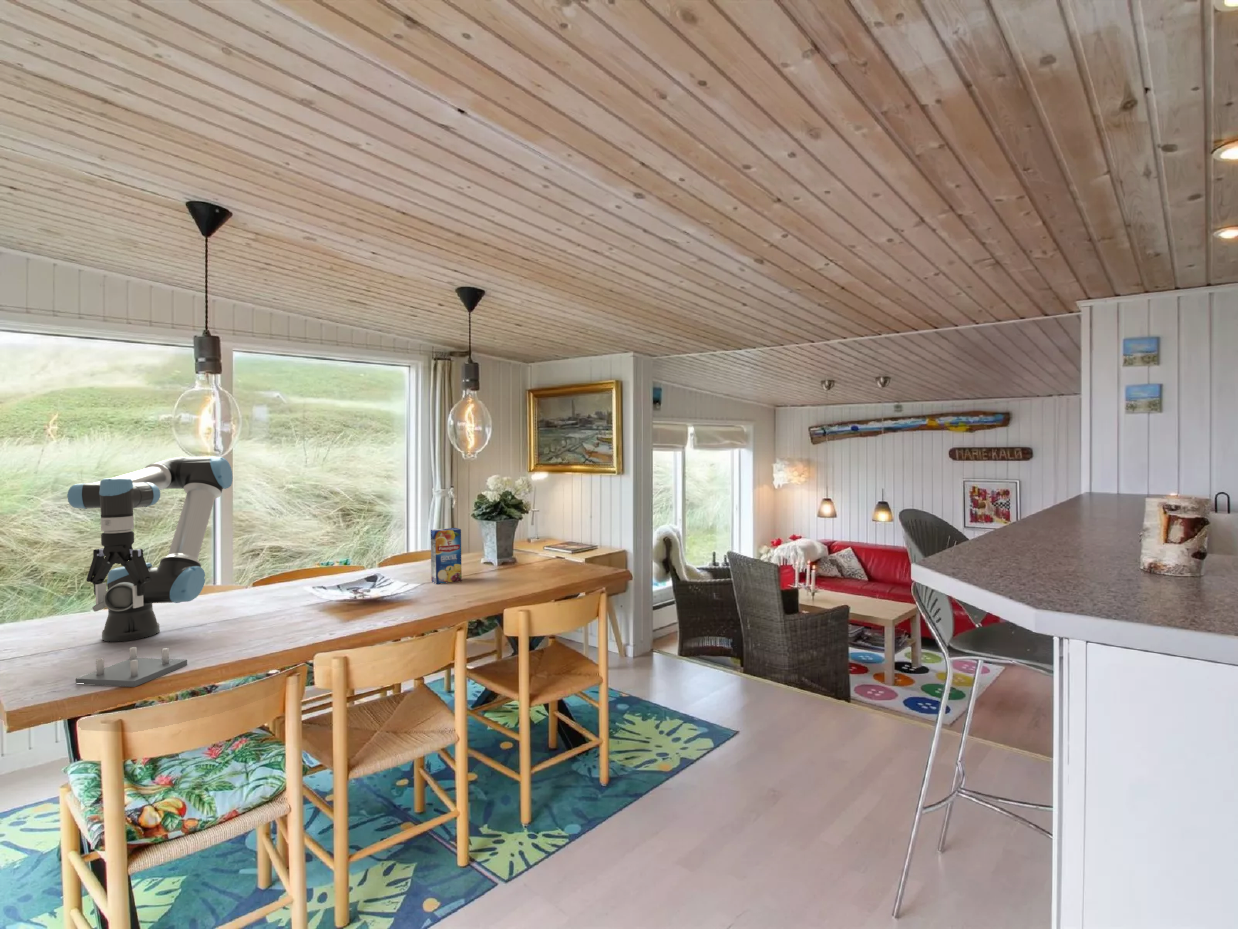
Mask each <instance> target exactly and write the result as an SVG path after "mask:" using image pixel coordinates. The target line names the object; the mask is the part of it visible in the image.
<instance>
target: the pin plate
mask: <svg viewBox="0 0 1238 929" xmlns="http://www.w3.org/2000/svg"><path fill="white" fill-rule="evenodd" d="M137 650H138V648H137V646H133V647H129V658H128V659H126V660H122V661H120V662H117V663H114V664H112V665H109V666H106V667H105V659H104V658H103V657H102V658H97V659H96V660H95V664H96V666H95V667H96V668H95V671H93V672H90V673H87V674H85V675H82V676H80V677H77V678H75V684H76V683H84V684H95V685H94V686H104V685H111V686H110V687H130V688H133V687H134V688H135V687H138V686H141V685H142V684H145V683H148V682H150V681H153V680H155V679H158V678H159V677H162V676H164V675H166V674H169V673H171V672H173V671H176V670H178V669H182V668H183V667H185V666H187V665H188V659H178V658H170V648H169V647H164V648H161V658H154V657H151V658H148V657H138V654H137V652H138V651H137Z"/></svg>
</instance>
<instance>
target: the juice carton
mask: <svg viewBox="0 0 1238 929" xmlns="http://www.w3.org/2000/svg"><path fill="white" fill-rule="evenodd" d="M430 569H431V570H430V573H431V574H430V575H431V576H430V577H431V578H430V580H431V581H432V582H431V583H433V582H434V583H433V584H435V583H436V584H435V585H440V584H439V583H444V584H447V583H446V582H452V583H459V582H458V581H460V582H462V580H463V579H462V574H463V573H462V570H463V569H462V529H461V528H457V527H452V528H451V527H449V528H437V529H430Z"/></svg>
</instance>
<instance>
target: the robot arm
mask: <svg viewBox="0 0 1238 929" xmlns="http://www.w3.org/2000/svg"><path fill="white" fill-rule="evenodd" d="M233 477H234V476H233V469H232V467H231V464H230V462H229V461H228V460H227V459H226V458H224V457H222V456H214V455H211V456H177V457H172V458H168V459H165V460H161V461H158V462H154V463H150V464H148V465H146V466H145V467H144V468H143V469H140V470H139V469H138V470H135V471H132V472H129V473H125V474H121V475H117V476H115V477H107V478H106V477H105V478H102V479H101V480H100V481H96V482H90V483H86V482H83V483H75V484H73V485H71V486H70V487H69V489H68V490H67V494H66V496H67V503H68V504H69V506H71V507H72V508H74V509H84V510H87V509H100V531H102V533H101V534H100V543H101V544H100V545H101V546H102V548H96V549H93V550H92V556H93V557H92V561H91V564H90V567H89V570H88V574H87V576H86V582H87V583H92V585H93V594H94V596H95V605H97V604H99V603H101V602H103V598H104V595H105V593H106V591H107V590H108V589H109V588H111V587H112V586H114V585H116V584H118V583H122V582H129V583H132V584H134V585H133V586H132V588H133V606H132V607H130V608H129V609H127V610H124V611H112V610H110V609H108V608H107V610H108V611H107V618H106V620H105V624H104V629H102V631H101V640H102V641H103V640H104V642H109V641H110V642H111V643H112V642H113V643H115V642H117V643H118V642H127V641H133V640H135V641H136V640H139V639H140V640H141V639H144V637H145V638H148V636H149V637H151V636H155V635H157V634H159V633H160V624H159V622H158V621H157V618H156V614H155V612H154V609H153V607H154V606H153V604H167V603H168V604H169V603H170V604H171V603H172V604H173V603H175V604H180V603H181V604H182V603H189V602H191V601H194V600H195V599H197V597H198V596H200V594H201V593H202V591H203V588H204V586H205V583H206V578H205V577H206V572H205V570H204V568H203V567H202V564H201V562H200V561H199V560H198V559H199V556H200V552H201V548H202V545H203V541H204V539H205V538H204V537H205V535H206V531H207V527H208V523H209V520H210V517H211V513H212V510H213V506H214V502H215V500H216V499H217V498H219V497H221V495H222V492H223V490H227V489H229V488H230V487H231V486H232V484H233ZM167 489H168V490H169V489H171V490H172V489H176V490H183V491H184V492H185V493H186V496H185V498H184V502H183V504H182V505H183V506H182V509H181V512H180V515H179V517H178V521H177V525H176V527H175V532H174V534H173V537H172V540H171V544H170V547H169V550H168V554H167V555H166V556H164V557H162V558H161V559H160V562H159V563H158V564H159V565H158V567H157V566H155V567H153V564H152V562H146V561H145V557H144V550H143V548H138V549H133V544H134V543H135V531H133V530H134V529H135V524H134V509H137V508H148V507H150V506H154V505H155V504H157V503H158V502H159V500H160V498H161V491H162V490H163V491H164V490H167ZM115 564H116V565H120V567H119V566H118V567H115V568H112V567H113V566H114V565H115ZM106 577H107V580H106ZM156 633H157V634H156Z"/></svg>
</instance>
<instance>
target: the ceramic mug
mask: <svg viewBox="0 0 1238 929" xmlns="http://www.w3.org/2000/svg"><path fill="white" fill-rule="evenodd" d="M133 585H134V584H132V583H129V582H122V583H118V584H116V585H114V586H112V587H111V588H109V589H108V588H107V589H106V593H105V595H104V598H103V602H101V603H99V604H97V605H96V604H95V605H93V606H92V608H91V609H92V610H93V611H94V612H95V613H96V612H98V611H101V610H103V609H105V608H107V610H108V609H110V610H112V611H124V610H127V609H129V608H130V607H132V606H133V588H132V586H133Z"/></svg>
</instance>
